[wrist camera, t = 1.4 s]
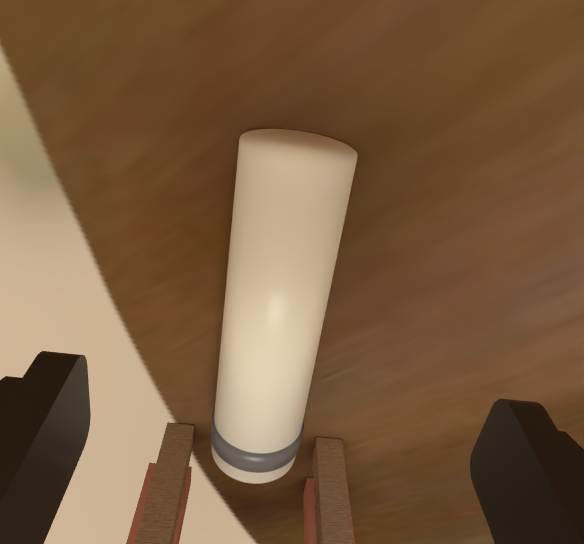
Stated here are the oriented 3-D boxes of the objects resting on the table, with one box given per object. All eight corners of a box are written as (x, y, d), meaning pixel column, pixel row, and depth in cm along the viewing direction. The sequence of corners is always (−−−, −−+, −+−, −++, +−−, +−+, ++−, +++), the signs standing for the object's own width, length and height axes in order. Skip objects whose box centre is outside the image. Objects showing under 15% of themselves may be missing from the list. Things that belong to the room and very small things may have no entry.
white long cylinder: (244, 121, 21) (228, 154, 17) (355, 138, 21) (365, 175, 17) (217, 410, 29) (201, 479, 25) (298, 420, 29) (296, 490, 25)
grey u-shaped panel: (342, 439, 30) (361, 615, 22) (337, 457, 31) (354, 634, 22) (167, 422, 29) (119, 598, 21) (166, 441, 30) (120, 617, 22)
